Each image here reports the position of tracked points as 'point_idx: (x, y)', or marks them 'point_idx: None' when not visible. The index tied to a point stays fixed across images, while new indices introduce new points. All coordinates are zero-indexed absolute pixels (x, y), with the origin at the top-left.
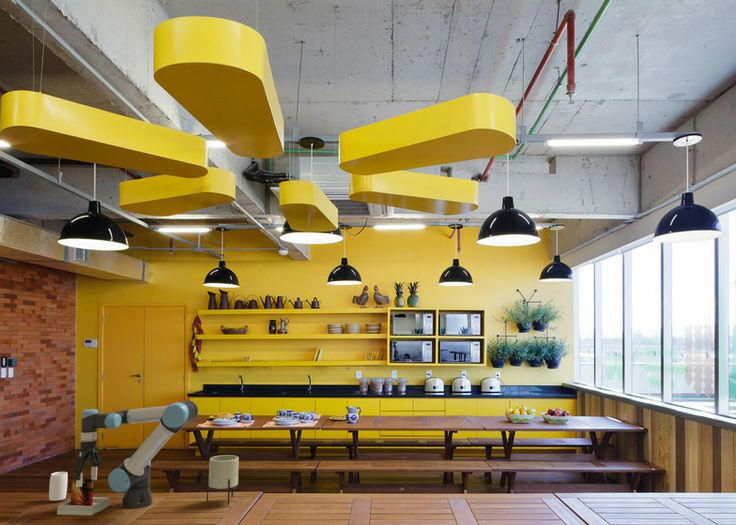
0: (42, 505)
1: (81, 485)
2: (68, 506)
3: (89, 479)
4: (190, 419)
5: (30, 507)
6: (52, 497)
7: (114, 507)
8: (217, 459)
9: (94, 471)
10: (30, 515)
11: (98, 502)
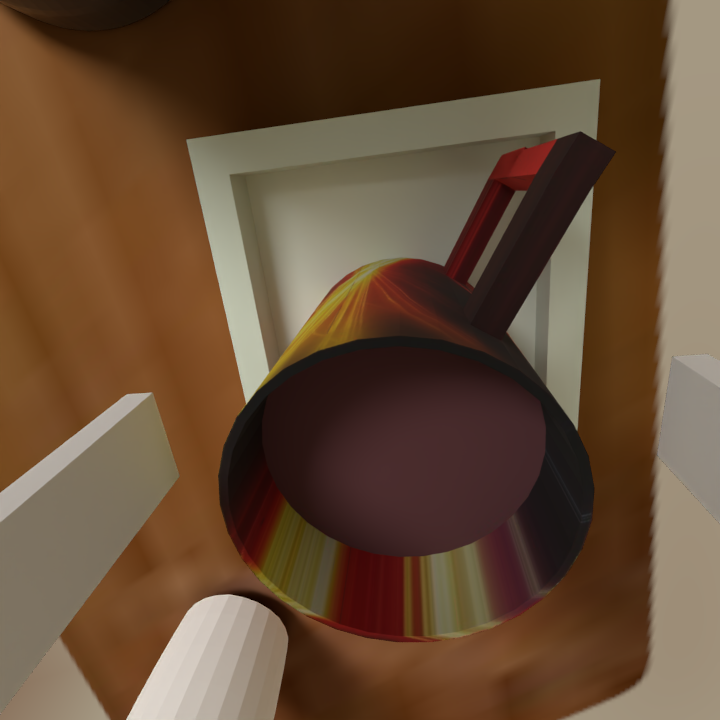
0: (353, 644)
1: (702, 365)
2: (579, 389)
3: (230, 480)
4: None
5: (407, 680)
6: (283, 659)
7: (251, 41)
8: None
9: (49, 541)
10: (579, 598)
11: (395, 146)
